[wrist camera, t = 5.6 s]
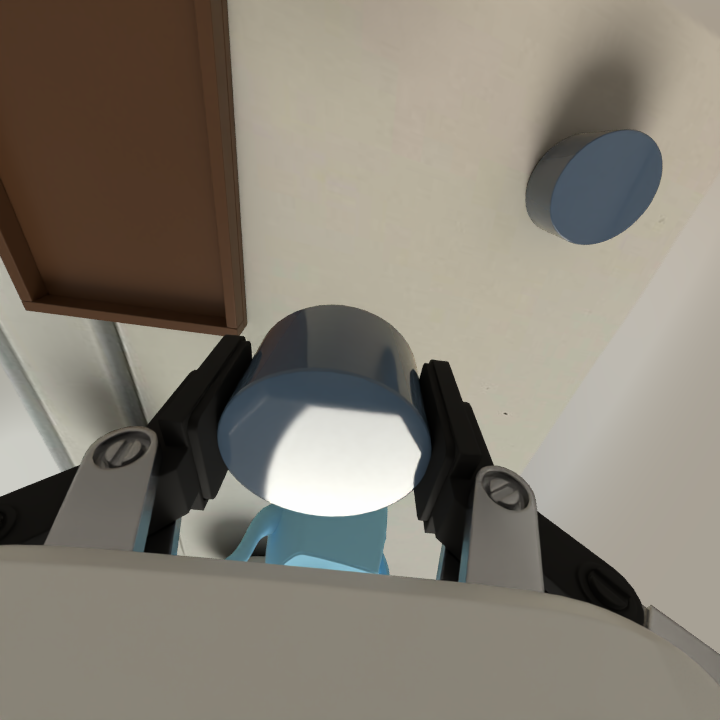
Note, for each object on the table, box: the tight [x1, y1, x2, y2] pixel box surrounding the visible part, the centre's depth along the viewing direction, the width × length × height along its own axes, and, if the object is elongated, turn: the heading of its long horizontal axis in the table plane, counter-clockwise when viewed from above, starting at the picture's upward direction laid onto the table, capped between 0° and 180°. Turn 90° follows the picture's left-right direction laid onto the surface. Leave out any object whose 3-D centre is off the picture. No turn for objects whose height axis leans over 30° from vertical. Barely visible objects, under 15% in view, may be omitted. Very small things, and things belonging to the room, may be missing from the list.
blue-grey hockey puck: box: [526, 129, 662, 245], centre depth 19 cm, size 6×6×4 cm
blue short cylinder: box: [217, 305, 432, 517], centre depth 10 cm, size 6×6×4 cm
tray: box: [0, 0, 247, 336], centre depth 19 cm, size 22×16×2 cm
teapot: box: [224, 504, 389, 575], centre depth 34 cm, size 12×18×12 cm
